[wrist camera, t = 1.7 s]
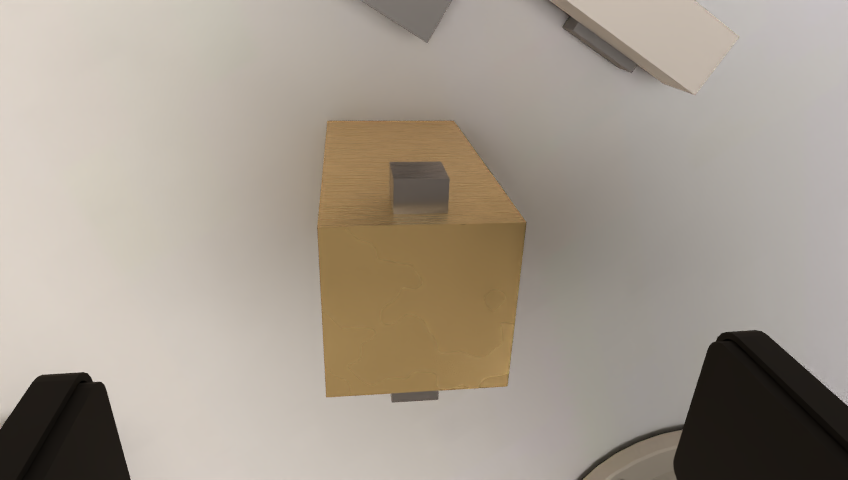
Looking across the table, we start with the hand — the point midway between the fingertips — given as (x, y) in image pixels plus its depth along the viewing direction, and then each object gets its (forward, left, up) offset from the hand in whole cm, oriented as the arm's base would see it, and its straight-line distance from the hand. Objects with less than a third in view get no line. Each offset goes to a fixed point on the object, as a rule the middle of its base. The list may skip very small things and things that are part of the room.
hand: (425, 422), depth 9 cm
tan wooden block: (-1, 0, -13) cm, 13 cm away
